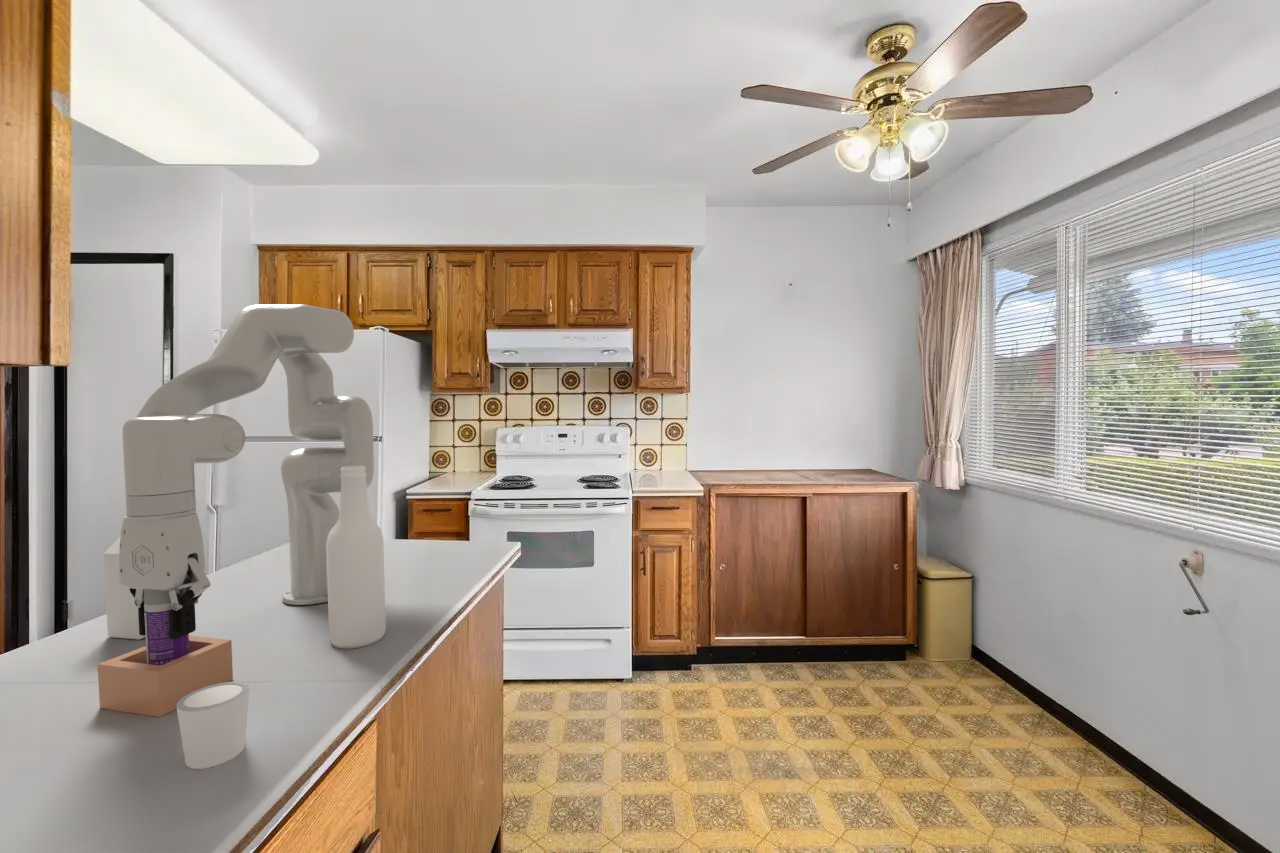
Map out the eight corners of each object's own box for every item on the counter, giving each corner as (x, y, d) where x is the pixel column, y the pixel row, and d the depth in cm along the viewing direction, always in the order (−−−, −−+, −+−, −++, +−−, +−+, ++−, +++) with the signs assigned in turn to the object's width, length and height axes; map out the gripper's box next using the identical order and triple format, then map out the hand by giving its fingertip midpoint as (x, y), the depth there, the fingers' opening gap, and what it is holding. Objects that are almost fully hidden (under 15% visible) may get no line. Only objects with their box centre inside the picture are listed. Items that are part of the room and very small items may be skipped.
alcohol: (318, 650, 96) (312, 469, 95) (347, 629, 105) (342, 464, 104) (370, 650, 96) (365, 469, 94) (395, 629, 104) (390, 463, 103)
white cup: (204, 738, 71) (202, 682, 70) (263, 735, 71) (261, 679, 71) (162, 774, 64) (160, 712, 63) (228, 770, 64) (226, 708, 64)
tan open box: (177, 673, 88) (176, 634, 88) (232, 679, 86) (231, 640, 85) (99, 708, 78) (97, 664, 78) (159, 717, 76) (157, 671, 75)
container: (198, 671, 83) (193, 568, 83) (162, 686, 79) (157, 578, 78) (176, 667, 85) (171, 566, 84) (139, 681, 80) (134, 575, 80)
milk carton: (139, 640, 101) (134, 532, 100) (107, 637, 102) (102, 530, 101) (179, 625, 108) (175, 523, 107) (148, 622, 109) (144, 522, 108)
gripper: (85, 507, 79) (92, 638, 80) (182, 512, 75) (189, 650, 76) (143, 498, 87) (149, 618, 87) (235, 502, 83) (240, 628, 83)
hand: (167, 632), depth 82 cm, fingers closed on container, 4 cm apart
